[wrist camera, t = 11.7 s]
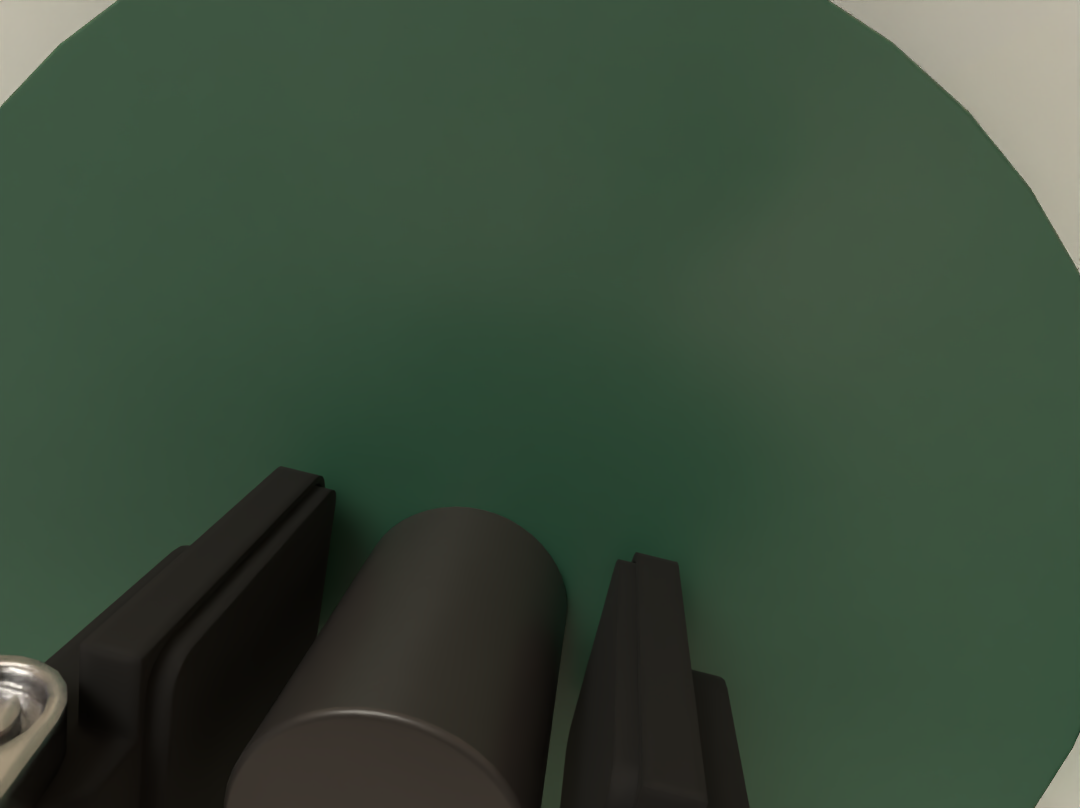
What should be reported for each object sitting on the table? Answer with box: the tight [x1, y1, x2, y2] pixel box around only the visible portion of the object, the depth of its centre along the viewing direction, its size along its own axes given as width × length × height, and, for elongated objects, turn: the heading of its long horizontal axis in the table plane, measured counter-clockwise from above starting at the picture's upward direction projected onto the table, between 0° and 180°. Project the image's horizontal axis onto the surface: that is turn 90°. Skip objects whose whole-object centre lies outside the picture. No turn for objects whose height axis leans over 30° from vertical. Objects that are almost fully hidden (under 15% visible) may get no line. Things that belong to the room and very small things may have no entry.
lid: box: [0, 0, 1080, 808], centre depth 9 cm, size 17×17×5 cm
